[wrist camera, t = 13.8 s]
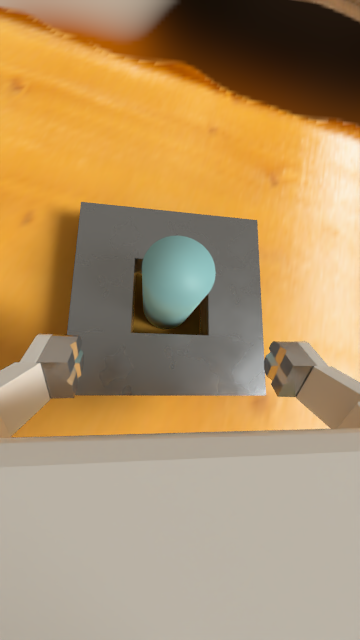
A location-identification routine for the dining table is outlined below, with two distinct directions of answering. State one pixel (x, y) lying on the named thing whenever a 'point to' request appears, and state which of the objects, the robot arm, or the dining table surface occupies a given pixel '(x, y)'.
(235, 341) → the socket block
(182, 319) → the teal peg
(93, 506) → the robot arm
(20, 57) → the dining table surface
